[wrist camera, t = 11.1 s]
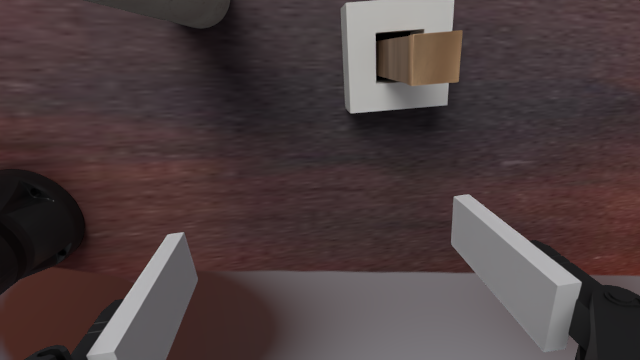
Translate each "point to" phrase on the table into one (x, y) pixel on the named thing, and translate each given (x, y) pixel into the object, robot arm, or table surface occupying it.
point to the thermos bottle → (175, 10)
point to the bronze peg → (420, 58)
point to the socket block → (360, 52)
